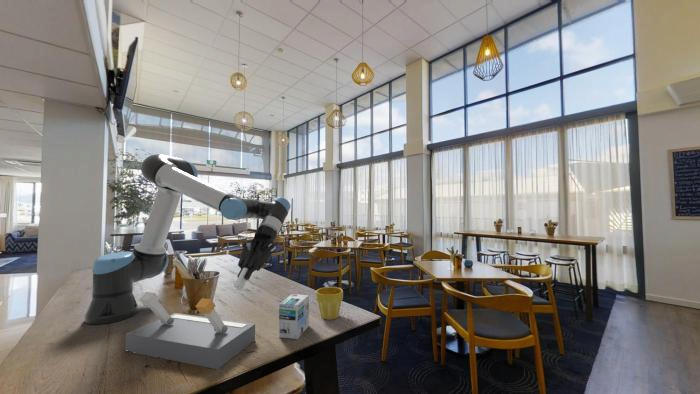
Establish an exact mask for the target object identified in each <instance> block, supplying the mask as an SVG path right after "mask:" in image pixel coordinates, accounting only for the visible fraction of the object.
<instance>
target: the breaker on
mask: <svg viewBox="0 0 700 394" xmlns="http://www.w3.org/2000/svg"><path fill="white" fill-rule="evenodd" d="M138 301H139V302H141V304H143V306H146V307H148V308H149V309H150V310H151V311H152V312H153V313H154V315H155V316H156V317H157V318H158V320H159V319H160V320H161V323H164V324H172V323H173V322H174V319H173V318H171V316H170V315H171V314H169V313H168V311H167V310H166V309H165V308H164V306H163V305H162V304H161V303H160V298H159V296H158V295H157V294H156V292H152V291H151V292H149V291H146V292H145V293H144V294H143V295H142V296H140V298H139V299H138Z"/></svg>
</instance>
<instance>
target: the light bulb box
mask: <svg viewBox="0 0 700 394" xmlns="http://www.w3.org/2000/svg"><path fill="white" fill-rule="evenodd" d="M278 308H279V310H278V338H284V339H293V340H299V338H300V337H301V336H302V334H304V332H305V331H306V330H307V328H309V324H310V295H307V294H298V293H297V294H296V293H292V294H290V295H289V296H288V297H285V299H284V300H282V301H280V303H279V304H278Z"/></svg>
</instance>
